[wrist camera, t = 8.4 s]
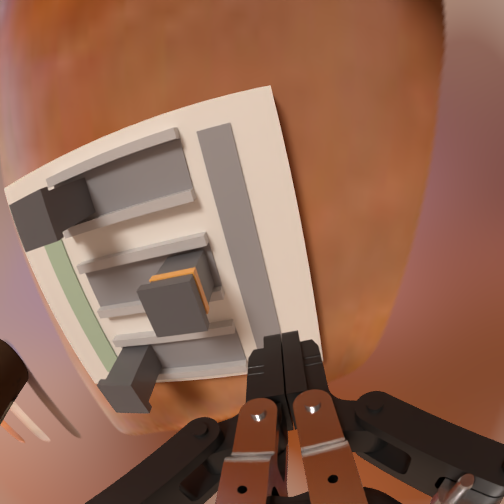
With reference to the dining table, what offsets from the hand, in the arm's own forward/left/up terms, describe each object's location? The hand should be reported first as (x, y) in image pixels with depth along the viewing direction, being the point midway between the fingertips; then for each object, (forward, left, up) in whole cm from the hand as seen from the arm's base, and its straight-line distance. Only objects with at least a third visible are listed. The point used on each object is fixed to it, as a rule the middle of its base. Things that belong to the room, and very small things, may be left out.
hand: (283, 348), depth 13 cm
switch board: (+11, 0, -13) cm, 17 cm away
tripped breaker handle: (+7, 0, -11) cm, 13 cm away
